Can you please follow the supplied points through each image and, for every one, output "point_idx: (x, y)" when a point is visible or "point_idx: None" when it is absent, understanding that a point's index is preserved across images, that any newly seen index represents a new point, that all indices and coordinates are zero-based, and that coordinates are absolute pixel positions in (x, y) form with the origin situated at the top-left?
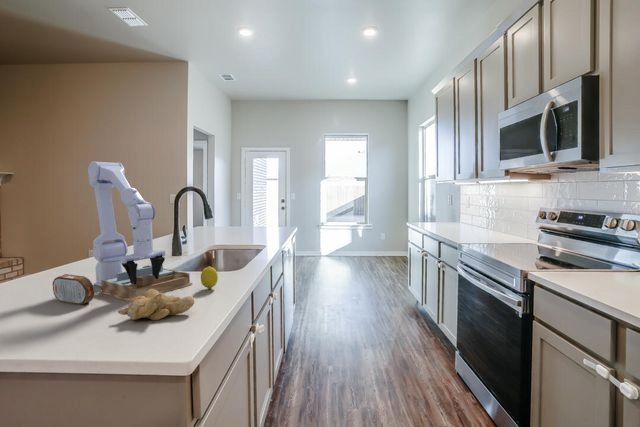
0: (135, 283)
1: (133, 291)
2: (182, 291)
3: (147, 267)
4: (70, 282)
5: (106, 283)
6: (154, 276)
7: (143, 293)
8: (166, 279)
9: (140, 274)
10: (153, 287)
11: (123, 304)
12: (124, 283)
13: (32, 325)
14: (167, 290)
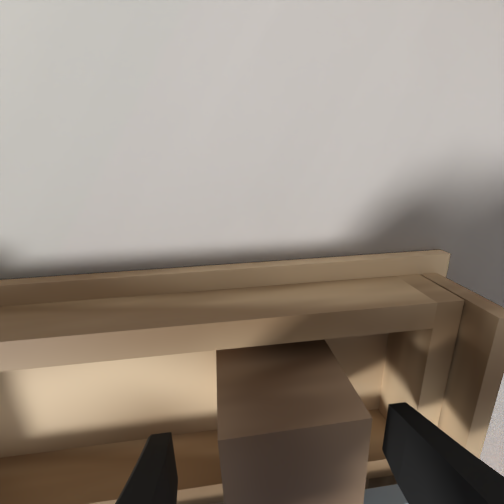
0: (399, 406)
1: (447, 296)
2: (36, 153)
3: None
4: None
5: None
6: (217, 433)
7: (344, 285)
8: (23, 484)
9: None
10: (260, 306)
11: (495, 226)
12: (395, 494)
13: None
14: (135, 272)
